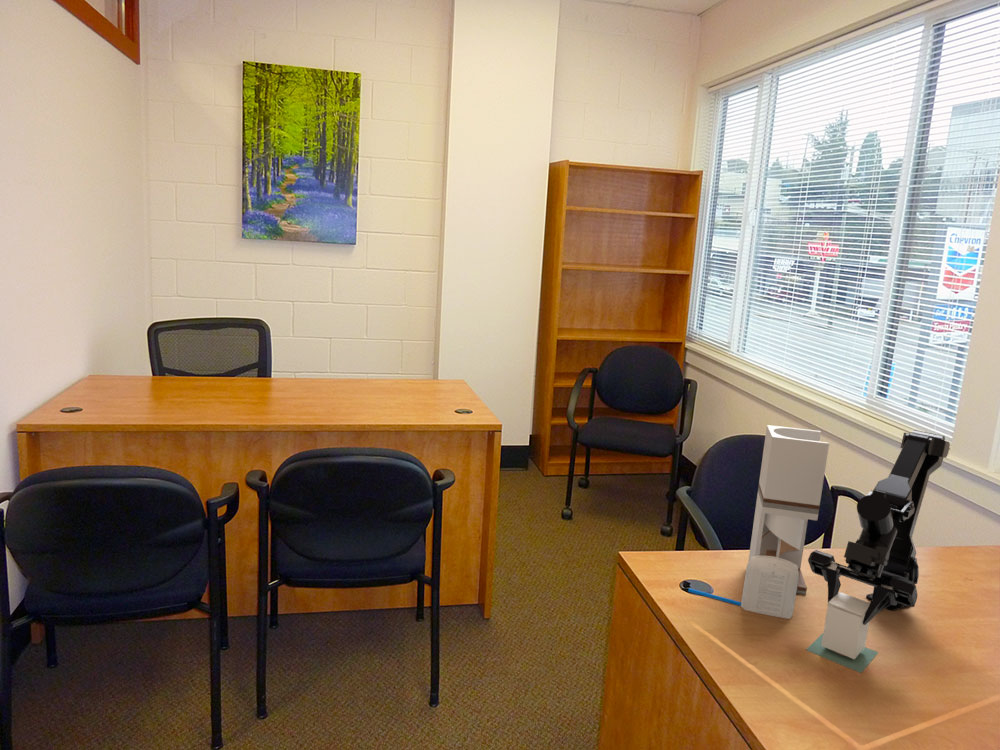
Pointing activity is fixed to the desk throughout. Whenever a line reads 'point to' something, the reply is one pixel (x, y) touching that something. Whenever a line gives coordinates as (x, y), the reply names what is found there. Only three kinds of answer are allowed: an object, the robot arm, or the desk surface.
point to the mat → (854, 664)
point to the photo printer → (770, 586)
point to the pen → (712, 596)
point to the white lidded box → (845, 625)
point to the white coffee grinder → (788, 493)
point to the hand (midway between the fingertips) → (845, 617)
